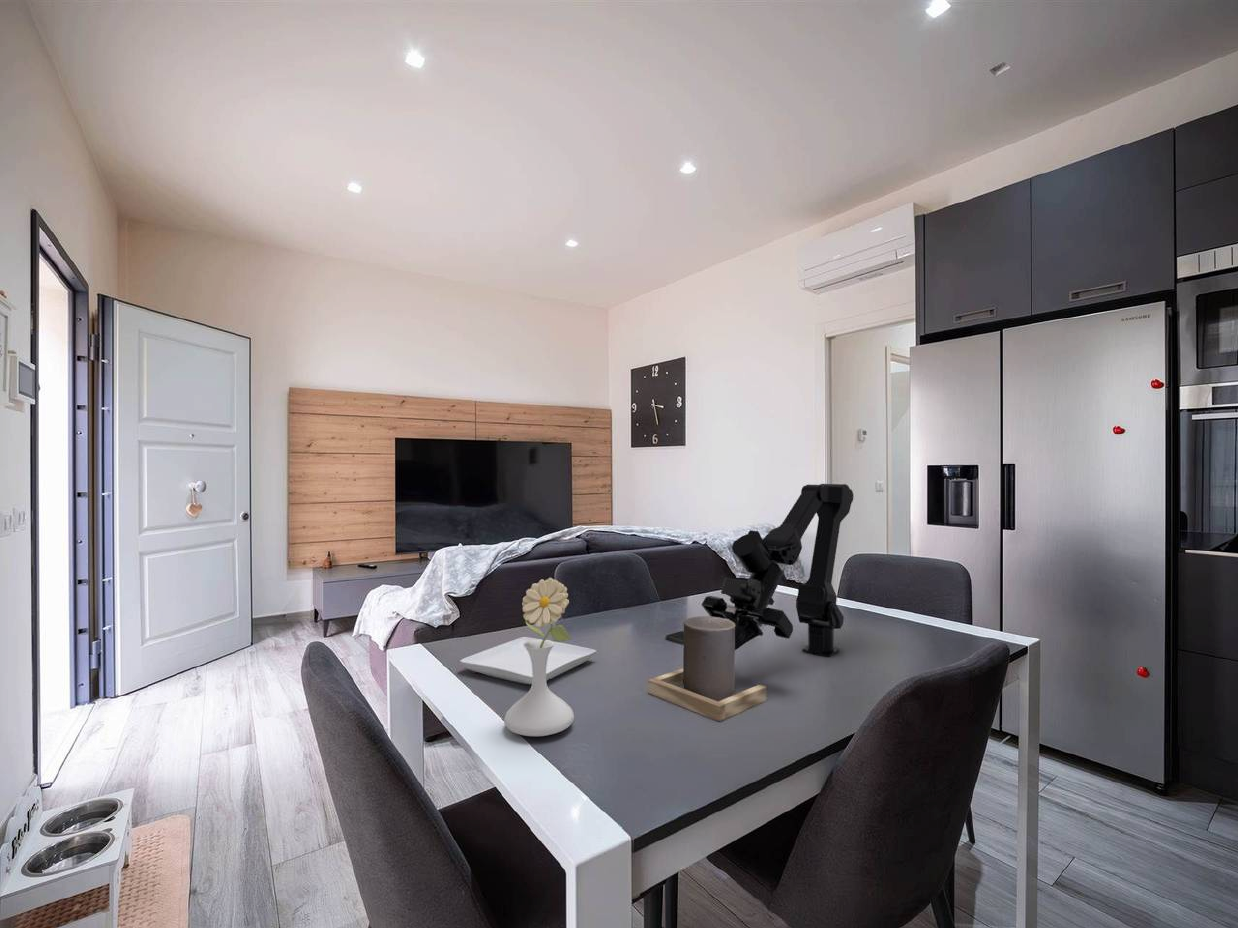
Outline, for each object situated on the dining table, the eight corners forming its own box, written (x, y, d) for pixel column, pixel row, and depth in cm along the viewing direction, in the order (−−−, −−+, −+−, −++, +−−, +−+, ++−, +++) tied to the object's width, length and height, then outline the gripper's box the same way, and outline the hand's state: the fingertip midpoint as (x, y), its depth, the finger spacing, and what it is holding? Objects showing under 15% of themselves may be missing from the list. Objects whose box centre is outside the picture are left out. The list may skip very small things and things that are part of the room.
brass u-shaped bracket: (695, 676, 122) (695, 663, 122) (766, 700, 109) (766, 686, 109) (648, 692, 113) (648, 679, 113) (719, 721, 100) (719, 706, 100)
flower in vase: (490, 727, 98) (490, 575, 98) (545, 708, 106) (545, 567, 106) (538, 755, 89) (538, 586, 89) (595, 731, 97) (594, 576, 97)
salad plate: (523, 648, 142) (523, 634, 142) (598, 663, 131) (598, 648, 131) (456, 675, 124) (456, 659, 124) (537, 695, 113) (537, 677, 113)
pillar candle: (672, 694, 112) (672, 615, 112) (705, 681, 119) (706, 606, 119) (712, 711, 105) (713, 625, 105) (746, 696, 111) (746, 616, 111)
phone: (684, 630, 154) (731, 642, 143) (684, 634, 154) (731, 647, 143) (663, 636, 148) (710, 649, 137) (663, 640, 148) (711, 654, 137)
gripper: (707, 557, 126) (671, 618, 118) (784, 568, 112) (749, 638, 104) (730, 589, 131) (697, 650, 124) (807, 603, 117) (775, 673, 110)
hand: (727, 652), depth 115 cm, fingers closed
